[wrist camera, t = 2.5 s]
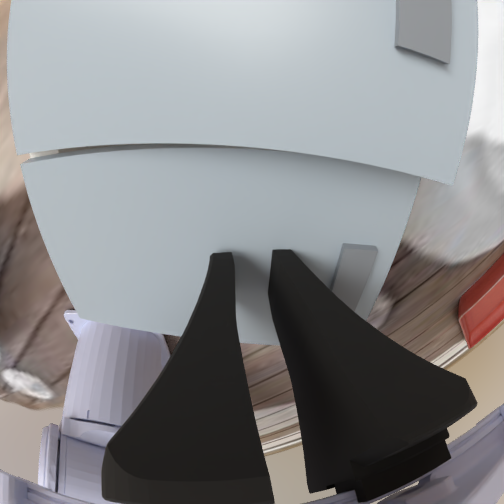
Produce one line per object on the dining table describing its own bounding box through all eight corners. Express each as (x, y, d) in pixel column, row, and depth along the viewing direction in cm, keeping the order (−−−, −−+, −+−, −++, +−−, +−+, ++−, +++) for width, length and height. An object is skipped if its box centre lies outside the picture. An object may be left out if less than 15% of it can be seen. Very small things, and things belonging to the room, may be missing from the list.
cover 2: (351, 336, 13) (353, 351, 12) (84, 310, 13) (77, 322, 12) (414, 165, 7) (426, 176, 7) (29, 158, 8) (15, 167, 7)
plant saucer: (461, 336, 36) (469, 351, 33) (445, 301, 27) (458, 321, 24) (527, 268, 29) (538, 280, 27) (531, 205, 20) (548, 220, 18)
